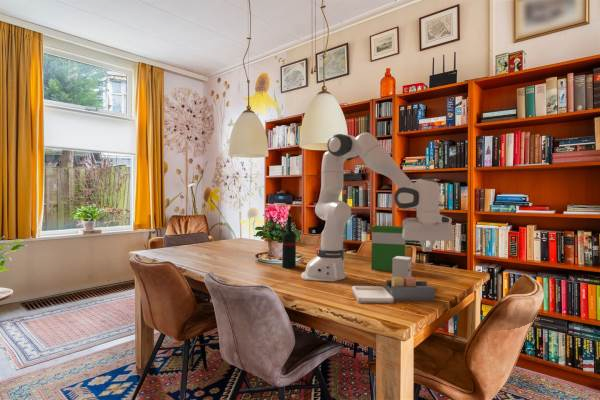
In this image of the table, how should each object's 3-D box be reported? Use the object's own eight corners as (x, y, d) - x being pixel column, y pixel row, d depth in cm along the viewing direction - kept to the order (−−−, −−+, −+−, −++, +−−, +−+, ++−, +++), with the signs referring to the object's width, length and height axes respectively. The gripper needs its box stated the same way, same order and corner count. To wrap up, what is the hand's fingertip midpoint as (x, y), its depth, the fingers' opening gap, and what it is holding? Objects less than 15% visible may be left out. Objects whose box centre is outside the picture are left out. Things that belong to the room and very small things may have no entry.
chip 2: (406, 288, 138) (406, 278, 138) (403, 285, 142) (403, 276, 142) (415, 288, 138) (416, 279, 138) (412, 285, 142) (412, 276, 142)
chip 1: (393, 288, 138) (394, 278, 138) (391, 285, 142) (391, 276, 142) (403, 288, 138) (403, 278, 138) (400, 285, 142) (401, 276, 142)
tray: (358, 302, 132) (358, 297, 132) (352, 290, 148) (352, 286, 148) (393, 303, 132) (393, 298, 132) (383, 290, 148) (383, 286, 148)
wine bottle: (298, 265, 197) (299, 213, 196) (293, 268, 187) (294, 215, 186) (285, 264, 199) (286, 213, 198) (280, 267, 189) (280, 214, 188)
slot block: (392, 300, 135) (392, 286, 135) (385, 292, 145) (386, 280, 145) (434, 301, 135) (434, 287, 135) (425, 293, 145) (425, 280, 145)
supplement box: (407, 287, 154) (408, 259, 154) (391, 284, 158) (391, 257, 157) (411, 283, 160) (412, 257, 160) (396, 281, 164) (396, 255, 164)
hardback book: (404, 269, 189) (405, 226, 189) (404, 272, 182) (405, 228, 181) (372, 266, 194) (372, 225, 193) (371, 269, 187) (372, 226, 186)
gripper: (404, 218, 136) (404, 252, 136) (455, 218, 136) (454, 252, 136) (400, 217, 142) (399, 249, 143) (448, 217, 142) (448, 250, 143)
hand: (427, 251), depth 139 cm, fingers closed
